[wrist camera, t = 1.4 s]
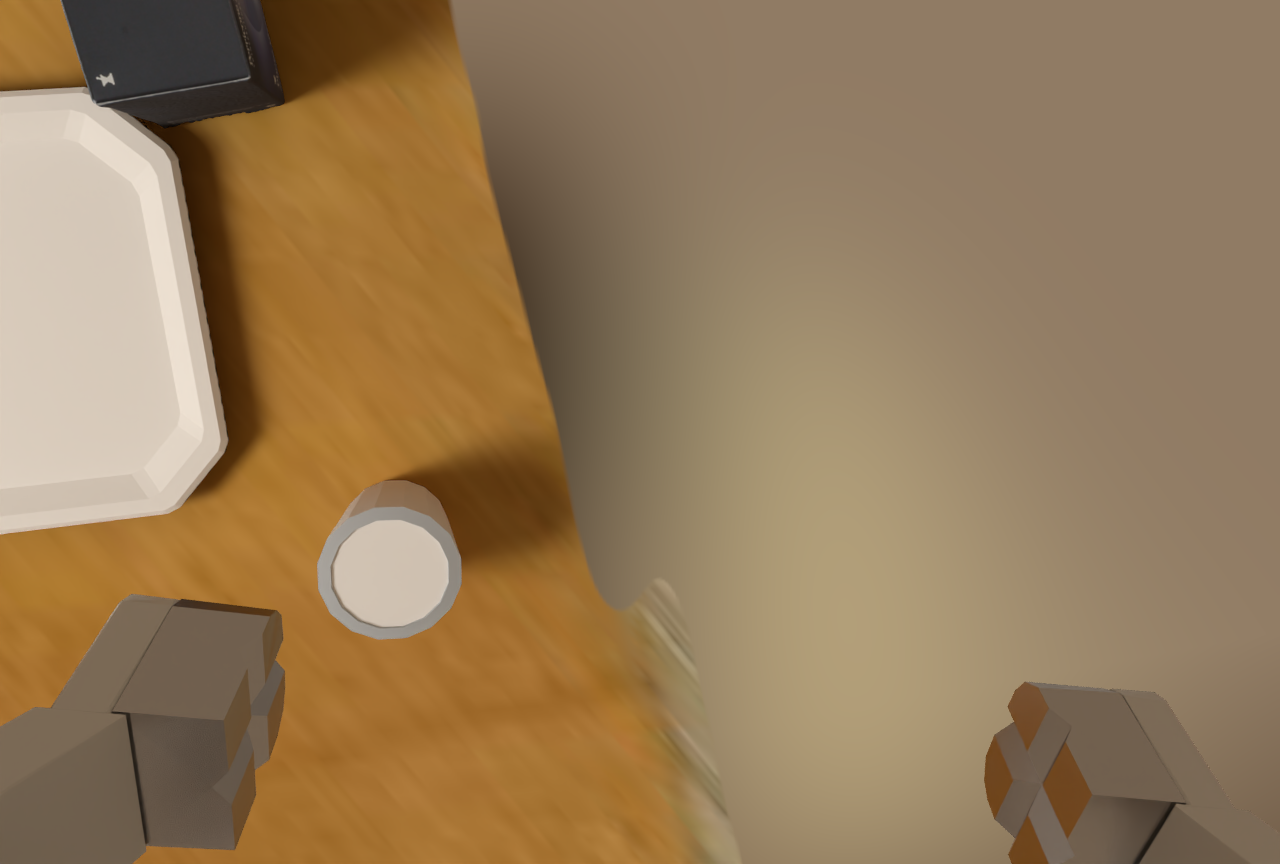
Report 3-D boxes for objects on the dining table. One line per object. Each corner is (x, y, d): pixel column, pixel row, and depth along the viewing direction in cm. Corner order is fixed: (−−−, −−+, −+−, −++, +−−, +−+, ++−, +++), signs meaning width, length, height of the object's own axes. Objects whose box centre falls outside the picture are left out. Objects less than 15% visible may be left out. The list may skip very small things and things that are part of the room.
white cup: (321, 578, 55) (305, 631, 48) (342, 458, 54) (328, 496, 47) (447, 595, 57) (448, 649, 50) (470, 479, 56) (474, 519, 49)
